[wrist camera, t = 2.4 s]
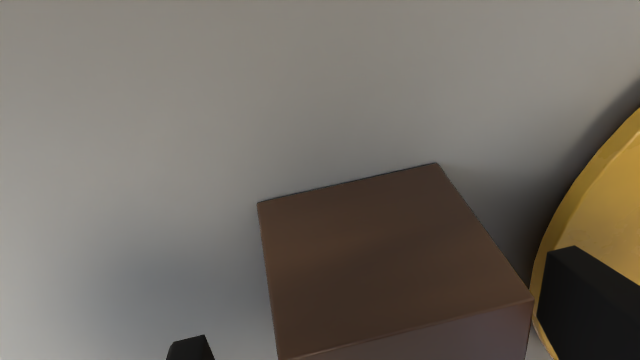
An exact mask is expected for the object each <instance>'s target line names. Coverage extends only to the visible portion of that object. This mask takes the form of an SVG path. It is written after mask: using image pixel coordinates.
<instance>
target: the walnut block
mask: <svg viewBox="0 0 640 360" xmlns="http://www.w3.org/2000/svg"><path fill="white" fill-rule="evenodd" d="M257 211H258V218H259V225H260V232H261V240H262V247H263V254H264V261H265V268H266V275H267V283H268V290H269V297H270V304H271V311H272V319H273V326H274V333H275V340H276V347H277V355H278V360H525V356H526V350H527V344H528V338H529V332H530V326H531V320H532V314H533V308H534V302H535V299H534V296H533V295H532V294H531V292H530V291H529V290H528V288H527V287H526V285H525V284H524V283H523V281H522V280H521V278H520V277H519V276H518V274H517V273H516V271H515V270H514V269H513V267H512V266H511V264H510V263H509V262H508V260H507V259H506V258H505V256H504V255H503V253H502V252H501V251H500V249H499V248H498V246H497V245H496V244H495V242H494V241H493V239H492V238H491V237H490V235H489V234H488V233H487V231H486V230H485V228H484V227H483V226H482V224H481V223H480V221H479V220H478V219H477V217H476V216H475V214H474V213H473V212H472V210H471V209H470V207H469V206H468V205H467V203H466V202H465V201H464V199H463V198H462V196H461V195H460V194H459V192H458V191H457V189H456V188H455V187H454V185H453V184H452V182H451V181H450V180H449V178H448V177H447V176H446V174H445V173H444V171H443V170H442V169H441V167H440V166H439V164H438V163H434V164H430V165H425V166H421V167H416V168H412V169H407V170H403V171H398V172H394V173H389V174H385V175H380V176H376V177H371V178H367V179H362V180H358V181H353V182H349V183H344V184H340V185H335V186H331V187H326V188H322V189H317V190H312V191H308V192H303V193H299V194H294V195H290V196H285V197H281V198H276V199H272V200H267V201H263V202H259V203H257Z"/></svg>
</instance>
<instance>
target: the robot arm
mask: <svg viewBox="0 0 640 360" xmlns="http://www.w3.org/2000/svg"><path fill="white" fill-rule="evenodd" d="M536 317H537V319H538V321H539V323H540V325H541V327H542V329H543V331H544V333H545V335H546V337H547V339H548V340H549V342H550V344H551V346H552V348H553V350H554V351H555V353H556V355H557V357H558V359H559V360H640V286H639V285H638V284H636V283H635V282H633V281H631V280H630V279H628V278H627V277H625V276H623V275H622V274H620V273H619V272H617V271H615V270H614V269H612V268H611V267H609V266H608V265H606V264H604V263H603V262H601V261H600V260H598V259H596V258H595V257H593V256H592V255H590V254H588V253H587V252H585V251H583V250H582V249H580V248H579V247H577V246H575V245H573V246H569V247H565V248H561V249H557V250H552V251H548V252H547V256H546V261H545V267H544V273H543V279H542V284H541V290H540V296H539V302H538V307H537V313H536ZM166 360H215V359H214V356H213V354H212V351H211V349H210V347H209V344H208V342H207V340H206V337H205V335H200V336H196V337H192V338H188V339H184V340H179V341H175V342H173V344H172V345H171V346H170V348H169V351H168V354H167V358H166Z"/></svg>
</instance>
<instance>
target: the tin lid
mask: <svg viewBox="0 0 640 360" xmlns="http://www.w3.org/2000/svg"><path fill="white" fill-rule="evenodd" d="M573 245H575V246H577V247H579V248H580V249H582V250H583V251H585V252H587V253H588V254H590V255H592V256H593V257H595V258H596V259H598V260H600V261H601V262H603V263H604V264H606V265H608V266H609V267H611V268H612V269H614V270H615V271H617V272H619V273H620V274H622V275H623V276H625V277H627V278H628V279H630V280H631V281H633V282H635V283H636V284H638V285H639V286H640V107H639V108H638V109H637V110H636V111H635V112H634V113H633V114H632V115H631V116H630V117H629V118H628V119H627V120H626V121H625V122H624V123H623V124H622V125H621V126H620V127H619V128H618V129H617V130H616V131H615V133H614V134H613V135H612V136H611V137H610V138H609V139H608V140H607V141H606V142H605V143H604V145H603V146H602V147H601V148H600V149H599V150H598V151H597V152H596V154H595V155H594V156H593V158H592V159H591V160H590V162H589V163H588V164H587V165H586V167H585V168H584V169H583V171H582V172H581V173H580V174H579V176H578V177H577V178H576V180H575V181H574V183H573V184H572V186H571V187H570V189H569V191H568V192H567V194H566V195H565V197H564V198H563V200H562V202H561V203H560V205H559V206H558V208H557V210H556V211H555V213H554V215H553V218H552V220H551V222H550V224H549V226H548V228H547V230H546V232H545V234H544V236H543V238H542V241H541V244H540V247H539V250H538V253H537V256H536V259H535V262H534V265H533V271H532V276H531V282H530V292H531V294H532V295H533V296H534V299H535V302H534V308H533V314H532V322H533V326H534V328H535V330H536V333H537V335H538V337H539V339H540V341H541V343H542V344H543V346H544V347H545V348H546V350H547V351H548V353H549V354H550V355H551V356H552V358H553V359H554V360H559V359H558V357H557V355H556V353H555V351H554V350H553V348H552V346H551V344H550V342H549V340H548V339H547V337H546V335H545V333H544V331H543V329H542V327H541V325H540V323H539V321H538V319H537V317H536V313H537V307H538V302H539V296H540V290H541V284H542V279H543V273H544V267H545V261H546V256H547V252H548V251H552V250H557V249H561V248H565V247H569V246H573Z"/></svg>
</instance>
